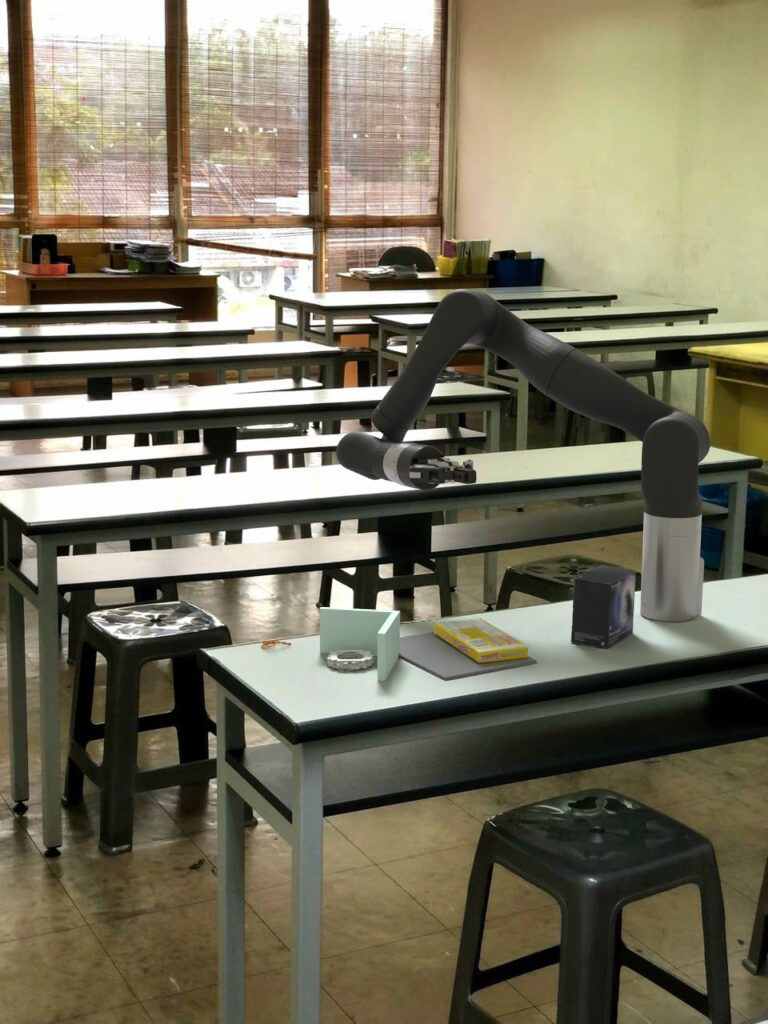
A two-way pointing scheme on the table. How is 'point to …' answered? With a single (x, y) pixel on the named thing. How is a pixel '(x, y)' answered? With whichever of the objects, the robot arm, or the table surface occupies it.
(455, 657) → the mat
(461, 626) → the candy box
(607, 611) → the small box
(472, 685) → the table surface
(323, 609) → the right angle wall
